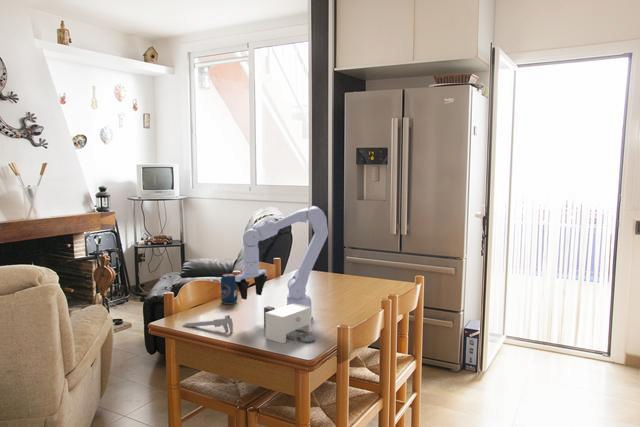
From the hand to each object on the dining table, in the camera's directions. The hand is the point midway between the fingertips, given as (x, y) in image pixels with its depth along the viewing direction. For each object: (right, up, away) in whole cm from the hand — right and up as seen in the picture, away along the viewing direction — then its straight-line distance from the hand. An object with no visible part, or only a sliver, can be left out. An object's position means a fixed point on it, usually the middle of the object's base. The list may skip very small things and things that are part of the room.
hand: (251, 296), depth 186 cm
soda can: (-13, -7, +26) cm, 30 cm away
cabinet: (+15, -11, -14) cm, 23 cm away
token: (+21, -12, -19) cm, 31 cm away
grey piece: (+13, -11, -12) cm, 21 cm away
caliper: (-15, -11, -8) cm, 20 cm away
